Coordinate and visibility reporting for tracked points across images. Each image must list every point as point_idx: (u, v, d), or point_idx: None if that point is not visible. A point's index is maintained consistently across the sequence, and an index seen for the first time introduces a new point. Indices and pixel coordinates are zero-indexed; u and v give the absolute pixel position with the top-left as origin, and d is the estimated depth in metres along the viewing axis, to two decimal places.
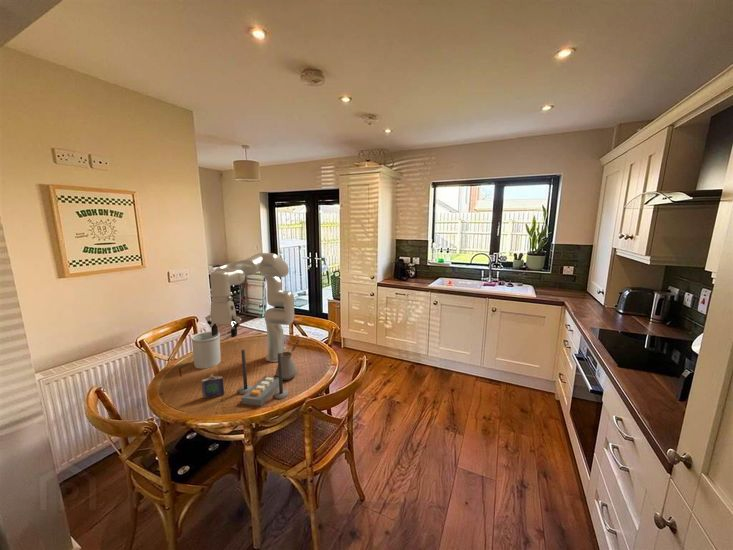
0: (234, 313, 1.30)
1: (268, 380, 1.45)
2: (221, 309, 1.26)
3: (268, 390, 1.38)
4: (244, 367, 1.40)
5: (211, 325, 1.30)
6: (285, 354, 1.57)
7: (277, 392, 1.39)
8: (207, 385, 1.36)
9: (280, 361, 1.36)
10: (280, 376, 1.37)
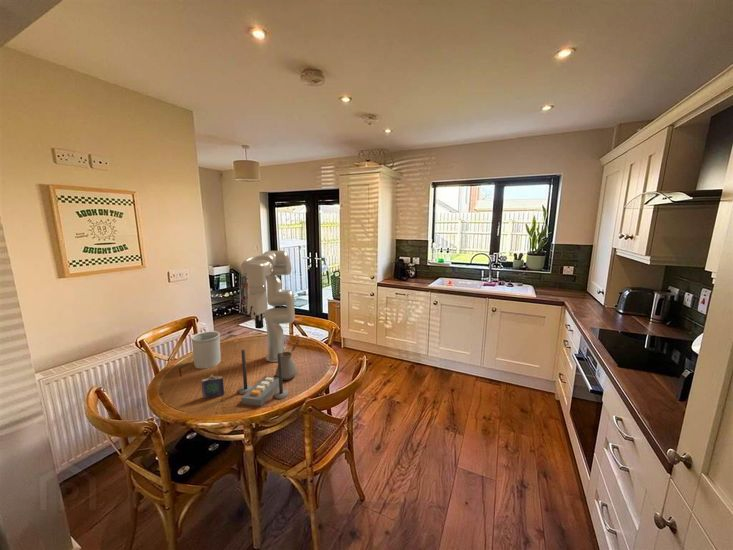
0: None
1: (268, 380, 1.45)
2: (264, 297, 1.34)
3: (268, 390, 1.38)
4: (244, 367, 1.40)
5: (260, 318, 1.33)
6: (285, 354, 1.57)
7: (277, 392, 1.39)
8: (207, 385, 1.36)
9: (280, 361, 1.36)
10: (280, 376, 1.37)
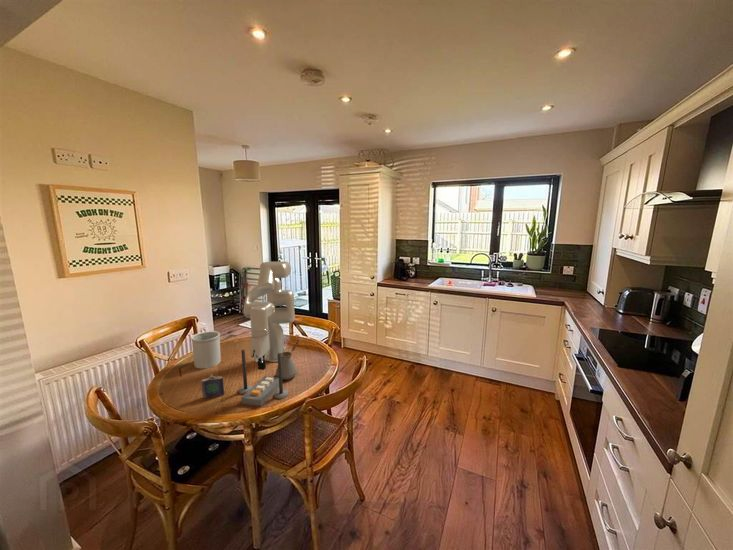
0: None
1: (268, 380, 1.45)
2: (266, 339, 1.38)
3: (268, 390, 1.38)
4: (244, 367, 1.40)
5: (262, 360, 1.37)
6: (285, 354, 1.57)
7: (277, 392, 1.39)
8: (207, 385, 1.36)
9: (280, 361, 1.36)
10: (280, 376, 1.37)
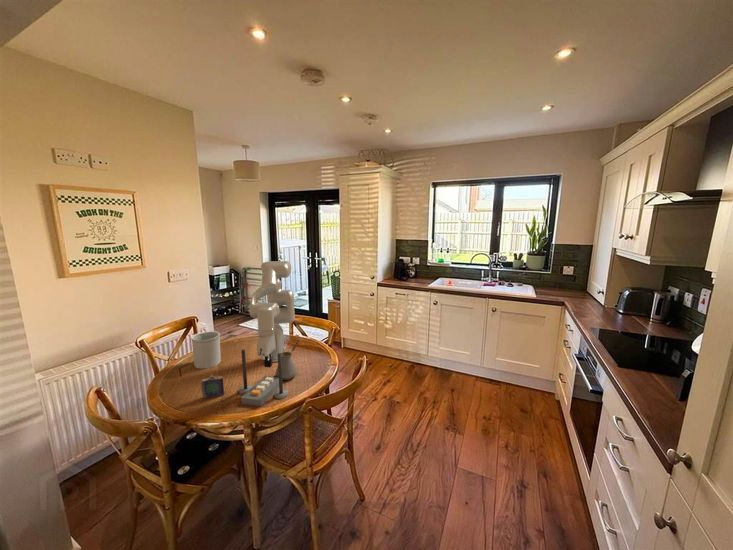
0: None
1: (268, 380, 1.45)
2: (272, 338, 1.43)
3: (268, 390, 1.38)
4: (244, 367, 1.40)
5: (269, 358, 1.43)
6: (285, 354, 1.57)
7: (277, 392, 1.39)
8: (207, 385, 1.36)
9: (280, 361, 1.36)
10: (280, 376, 1.37)
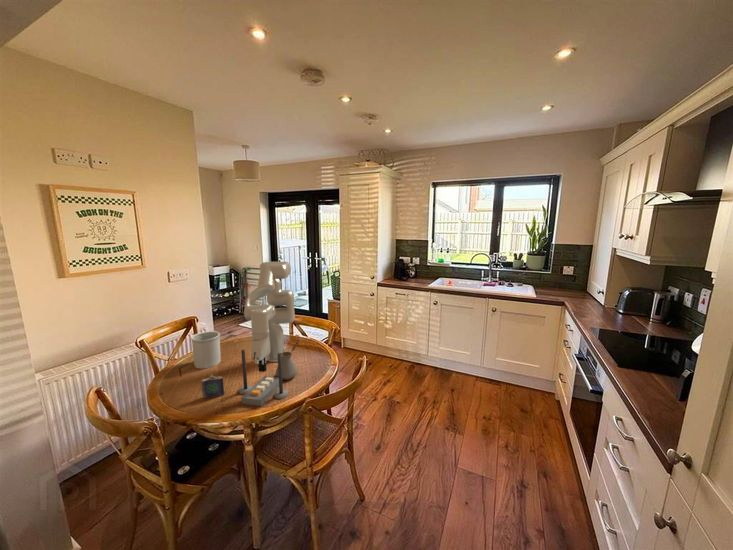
0: None
1: (268, 380, 1.45)
2: (267, 342, 1.38)
3: (268, 390, 1.38)
4: (244, 367, 1.40)
5: (263, 362, 1.37)
6: (285, 354, 1.57)
7: (277, 392, 1.39)
8: (207, 385, 1.36)
9: (280, 361, 1.36)
10: (280, 376, 1.37)
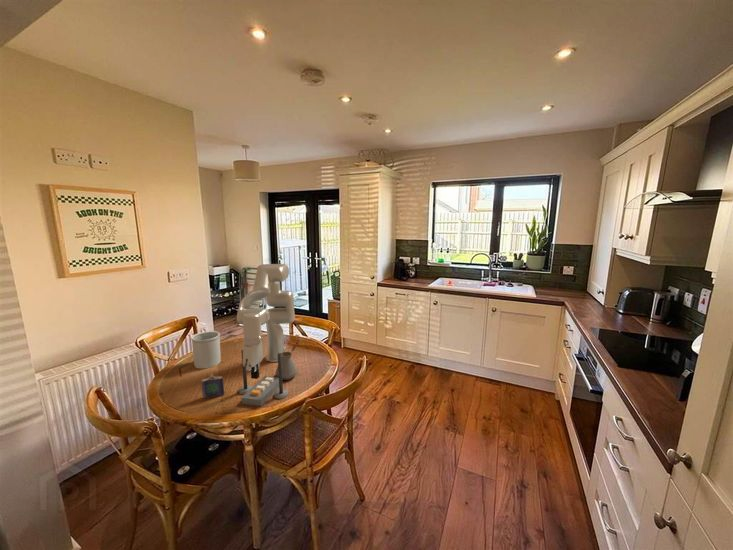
0: None
1: (268, 380, 1.45)
2: (260, 347, 1.32)
3: (268, 390, 1.38)
4: (244, 367, 1.40)
5: (255, 368, 1.31)
6: (285, 354, 1.57)
7: (277, 392, 1.39)
8: (207, 385, 1.36)
9: (280, 361, 1.36)
10: (280, 376, 1.37)
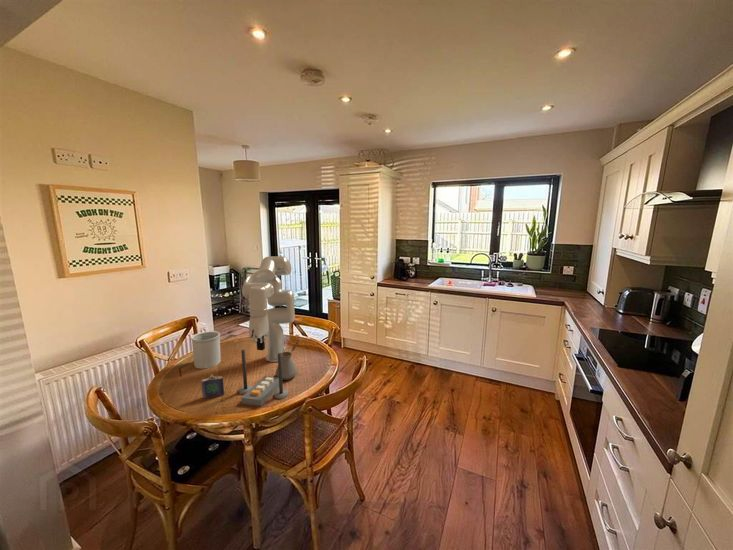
0: None
1: (268, 380, 1.45)
2: (265, 320, 1.36)
3: (268, 390, 1.38)
4: (244, 367, 1.40)
5: (261, 340, 1.36)
6: (285, 354, 1.57)
7: (277, 392, 1.39)
8: (207, 385, 1.36)
9: (280, 361, 1.36)
10: (280, 376, 1.37)
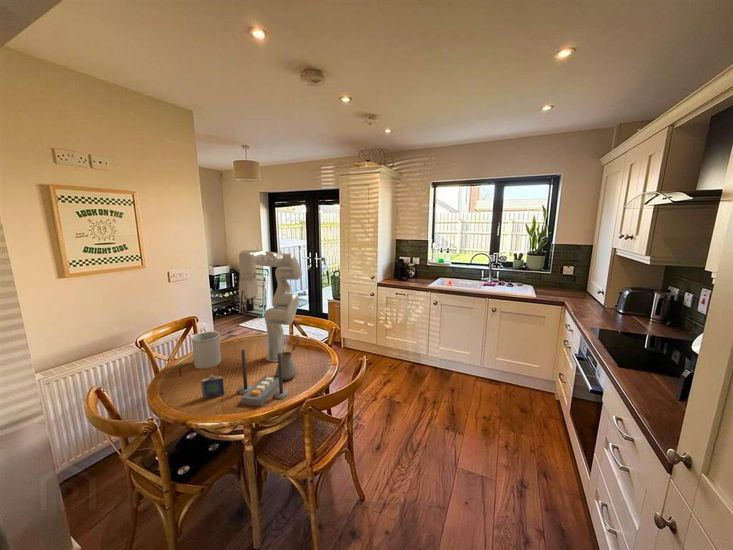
0: None
1: (268, 380, 1.45)
2: (254, 283, 1.49)
3: (268, 390, 1.38)
4: (244, 367, 1.40)
5: (250, 301, 1.48)
6: (285, 354, 1.57)
7: (277, 392, 1.39)
8: (207, 385, 1.36)
9: (280, 361, 1.36)
10: (280, 376, 1.37)
